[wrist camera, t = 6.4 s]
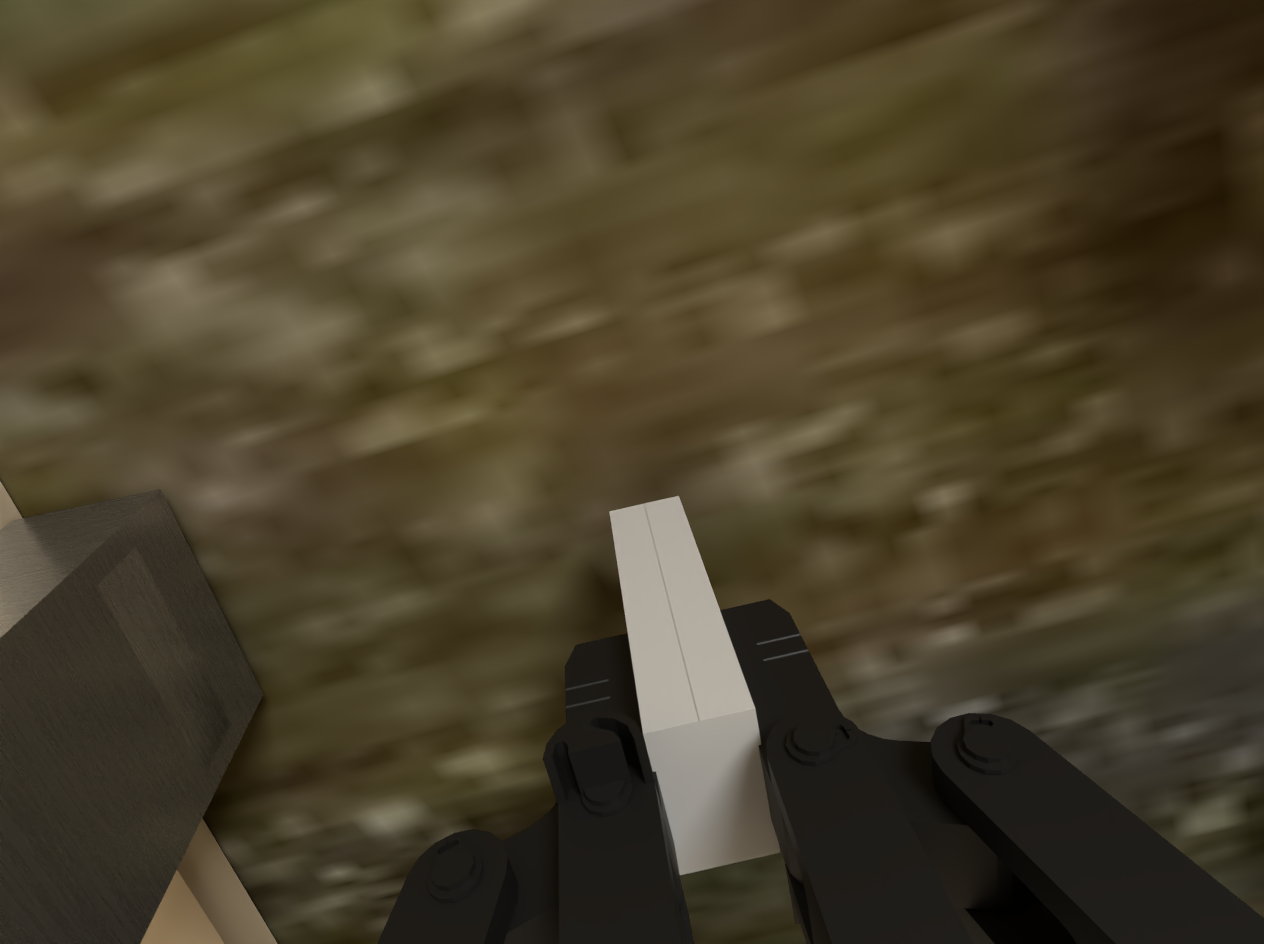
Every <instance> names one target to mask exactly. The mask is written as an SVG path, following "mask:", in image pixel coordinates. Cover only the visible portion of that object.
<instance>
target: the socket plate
mask: <svg viewBox="0 0 1264 944" xmlns="http://www.w3.org/2000/svg"><path fill="white" fill-rule="evenodd" d="M17 519H22V516H21V515H20V513H19V511H18V510H17V508H16V506H15V505H14V503H13V501H12V500H11V498H10V496H9V495H8V493H7V491H6V490H5V488H4V486H3V485H2V483H1V481H0V530H1V529H2V528H4V527H5V526H6V525H8V524H9V523H11V522H12V521H13V520H17ZM140 944H278V943H277V942H276V940H275V938H274V937H273V935H272V933H271V932H270V930H269V928H268V927H267V925H266V923H265V922H264V920H263V918H262V917H261V915H260V913H259V912H258V910H257V908H256V907H255V905H254V903H253V902H252V900H251V898H250V897H249V895H248V893H247V892H246V890H245V888H244V887H243V885H242V883H241V882H240V880H239V878H238V877H237V875H236V873H235V872H234V870H233V868H232V867H231V865H230V863H229V862H228V860H227V858H226V857H225V855H224V853H223V852H222V850H221V848H220V847H219V845H218V843H217V842H216V840H215V838H214V837H213V835H212V833H211V832H210V830H209V828H208V827H207V825H206V823H205V822H204V820H203V818H202V820H201V822H200V824H199V826H198V828H197V830H196V832H195V834H194V836H193V838H192V840H191V842H190V844H189V846H188V848H187V850H186V852H185V854H184V856H183V858H182V860H181V862H180V864H179V866H178V868H177V870H176V872H175V874H174V876H173V879H172V881H171V883H170V885H169V887H168V889H167V891H166V893H165V895H164V897H163V899H162V901H161V903H160V905H159V907H158V909H157V911H156V913H155V915H154V917H153V919H152V921H151V923H150V925H149V927H148V929H147V931H146V933H145V935H144V937H143V939H142V941H141V943H140Z"/></svg>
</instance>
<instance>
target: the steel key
mask: <svg viewBox="0 0 1264 944" xmlns="http://www.w3.org/2000/svg"><path fill="white" fill-rule="evenodd" d="M262 696H263V693H262V691H261V689H260V687H259V685H258V683H257V681H256V679H255V677H254V675H253V673H252V671H251V669H250V667H249V665H248V663H247V661H246V659H245V657H244V655H243V653H242V651H241V649H240V647H239V645H238V643H237V641H236V639H235V637H234V635H233V633H232V631H231V629H230V627H229V625H228V623H227V621H226V619H225V617H224V615H223V613H222V611H221V609H220V607H219V605H218V603H217V601H216V599H215V597H214V595H213V593H212V591H211V589H210V587H209V585H208V583H207V581H206V579H205V577H204V575H203V573H202V571H201V569H200V567H199V565H198V563H197V561H196V559H195V557H194V555H193V553H192V551H191V549H190V547H189V545H188V543H187V541H186V539H185V537H184V535H183V533H182V531H181V529H180V527H179V525H178V523H177V521H176V519H175V517H174V515H173V513H172V511H171V509H170V507H169V505H168V503H167V501H166V499H165V497H164V495H163V493H162V491H161V490H156V491H151V492H146V493H142V494H137V495H132V496H127V497H122V498H118V499H113V500H108V501H103V502H98V503H94V504H89V505H84V506H79V507H74V508H70V509H65V510H60V511H55V512H50V513H46V514H41V515H36V516H31V517H26V518H22V519H17V520H13V521H12V522H11V523H9V524H8V525H6V526H5V527H4V528H2V529H1V530H0V944H140V943H141V941H142V939H143V937H144V935H145V933H146V931H147V929H148V927H149V925H150V923H151V921H152V919H153V917H154V915H155V913H156V911H157V909H158V907H159V905H160V903H161V901H162V899H163V897H164V895H165V893H166V891H167V889H168V887H169V885H170V883H171V881H172V879H173V876H174V874H175V872H176V870H177V868H178V866H179V864H180V862H181V860H182V858H183V856H184V854H185V852H186V850H187V848H188V846H189V844H190V842H191V840H192V838H193V836H194V834H195V832H196V830H197V828H198V826H199V824H200V822H201V820H202V818H203V816H204V814H205V812H206V810H207V808H208V806H209V804H210V802H211V800H212V798H213V796H214V794H215V792H216V789H217V787H218V785H219V783H220V781H221V779H222V777H223V775H224V773H225V771H226V769H227V767H228V765H229V763H230V761H231V759H232V757H233V755H234V753H235V751H236V749H237V747H238V745H239V743H240V741H241V739H242V737H243V735H244V733H245V731H246V729H247V727H248V725H249V723H250V721H251V719H252V717H253V715H254V713H255V711H256V709H257V707H258V705H259V702H260V700H261V698H262Z"/></svg>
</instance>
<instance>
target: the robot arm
mask: <svg viewBox="0 0 1264 944" xmlns="http://www.w3.org/2000/svg"><path fill="white" fill-rule="evenodd" d="M609 512H610V518H611V525H612V532H613V538H614V545H615V552H616V558H617V565H618V571H619V578H620V585H621V591H622V598H623V605H624V611H625V618H626V625H627V631H628V633H627V634H623V635H618V636H614V637H609V638H605V639H600V640H596V641H592V642H587V643H583V644H578V645H576V646H575V648H574V650H573V652H572V654H571V656H570V658H569V660H568V661H567V663H566V665H565V688H566V724H565V725H563V726H562V727H561V728H559V729H558V730H557V731H556V732H555V734H554V735H553V736H552V738H551V739H550V740H549V742H548V743H547V745H546V749H545V753H544V757H543V760H544V763H545V766H546V769H547V772H548V775H549V778H550V781H551V784H552V787H553V790H554V793H555V796H556V799H557V803H556V804H555V805H554V807H553V808H552V809H551V810H550V811H549V812H548V813H547V814H546V815H545V816H544V817H543V818H542V819H541V820H539V821H538V822H536V823H535V824H533V825H532V826H530V827H528V828H527V829H525V830H523V831H521V832H519V833H517V834H515V835H514V836H512V837H510V838H508V839H506V840H504V841H501V840H499V839H498V838H497V837H496V836H494V835H493V834H492V833H490V832H486V831H480V830H475V829H472V830H467V831H462V832H457V833H453V834H452V835H450V836H448V837H446V838H444V839H442V840H440V841H438V842H436V843H435V844H434V845H433V846H431V847H430V848H429V849H428V850H427V851H426V852H425V853H424V854H423V855H421V856H420V857H419V859H418V860H417V862H416V863H415V865H414V867H413V868H412V870H411V871H410V873H409V874H408V876H407V878H406V881H405V883H404V885H403V887H402V890H401V892H400V894H399V896H398V899H397V901H396V903H395V905H394V908H393V910H392V912H391V914H390V917H389V919H388V921H387V923H386V926H385V928H384V930H383V932H382V935H381V937H380V939H379V941H378V944H694V942H693V937H692V931H691V925H690V920H689V914H688V910H687V906H686V902H685V898H684V894H683V890H682V885H681V880H680V875H684V874H688V873H692V872H697V871H701V870H705V869H710V868H714V867H719V866H723V865H727V864H732V863H736V862H740V861H745V860H749V859H754V858H758V857H762V856H767V855H771V854H775V853H780V849H779V845H780V848H781V852H782V855H783V858H784V861H785V865H786V871H787V877H788V883H789V889H790V895H791V901H792V907H793V913H794V919H795V924H801V927H802V930H803V933H804V936H805V939H806V943H807V944H973V943H974V944H1264V918H1263V917H1261V916H1260V915H1259V914H1258V913H1256V912H1255V911H1254V910H1253V909H1251V908H1250V907H1249V906H1248V905H1246V904H1245V903H1244V902H1243V901H1242V900H1240V899H1239V898H1238V897H1237V896H1235V895H1234V894H1233V893H1232V892H1230V891H1229V890H1228V889H1227V888H1225V887H1224V886H1223V885H1222V884H1220V883H1219V882H1218V881H1217V880H1215V879H1214V878H1213V877H1212V876H1210V875H1209V874H1208V873H1207V872H1205V871H1204V870H1203V869H1202V868H1200V867H1199V866H1198V865H1197V864H1195V863H1194V862H1193V861H1192V860H1190V859H1189V858H1188V857H1187V856H1185V855H1184V854H1183V853H1182V852H1180V851H1179V850H1178V849H1177V848H1175V847H1174V846H1173V845H1172V844H1170V843H1169V842H1168V841H1167V840H1165V839H1164V838H1163V837H1162V836H1160V835H1159V834H1158V833H1157V832H1155V831H1154V830H1153V829H1152V828H1150V827H1149V826H1148V825H1147V824H1145V823H1144V822H1143V821H1142V820H1141V819H1139V818H1138V817H1137V816H1136V815H1134V814H1133V813H1132V812H1131V811H1129V810H1128V809H1127V808H1126V807H1124V806H1123V805H1122V804H1121V803H1119V802H1118V801H1117V800H1116V799H1114V798H1113V797H1112V796H1111V795H1109V794H1108V793H1107V792H1106V791H1104V790H1103V789H1102V788H1101V787H1099V786H1098V785H1097V784H1096V783H1094V782H1093V781H1092V780H1091V779H1089V778H1088V777H1087V776H1086V775H1084V774H1083V773H1082V772H1081V771H1079V770H1078V769H1077V768H1076V767H1074V766H1073V765H1072V764H1071V763H1069V762H1068V761H1067V760H1066V759H1064V758H1063V757H1062V756H1061V755H1059V754H1058V753H1057V752H1056V751H1054V750H1053V749H1052V748H1051V747H1049V746H1048V745H1047V744H1046V743H1044V742H1043V741H1042V740H1041V739H1039V738H1038V737H1037V736H1036V735H1035V734H1033V733H1032V732H1031V731H1029V730H1028V729H1026V728H1024V727H1023V726H1021V725H1019V724H1017V723H1016V722H1014V721H1012V720H1010V719H1006V718H1003V717H999V716H996V715H992V714H976V713H968V714H964V715H960V716H956V717H953V718H950V719H948V720H947V721H946V722H944V723H943V724H941V725H940V726H939V727H937V729H936V731H935V733H934V735H933V737H932V739H931V742H914V741H896V740H888V739H882V738H879V737H875V736H872V735H869V734H867V733H865V732H863V731H861V730H859V729H858V727H857V726H856V725H855V724H854V723H853V722H852V721H850V720H848V719H846V718H845V717H844V716H843V715H842V714H841V712H840V711H839V709H838V707H837V705H836V703H835V701H834V699H833V698H832V696H831V694H830V692H829V690H828V688H827V686H826V684H825V682H824V680H823V678H822V676H821V674H820V672H819V670H818V668H817V666H816V664H815V662H814V660H813V658H812V656H811V654H810V652H808V649H807V646H806V645H805V643H804V641H803V639H802V637H801V636H800V634H799V631H798V629H797V627H796V625H795V623H794V621H793V619H792V617H791V615H790V613H789V612H787V611H786V610H784V609H783V608H781V607H780V606H779V605H777V604H776V603H774V602H773V601H772V600H770V599H768V600H764V601H760V602H755V603H751V604H746V605H742V606H737V607H733V608H729V609H724V610H720V609H719V606H718V604H717V601H716V598H715V595H714V592H713V590H712V587H711V584H710V581H709V579H708V576H707V573H706V570H705V567H704V565H703V562H702V559H701V556H700V554H699V551H698V548H697V545H696V542H695V540H694V537H693V534H692V531H691V529H690V526H689V523H688V520H687V517H686V515H685V512H684V509H683V506H682V504H681V501H680V498H679V496H676V497H671V498H667V499H662V500H658V501H654V502H649V503H645V504H640V505H636V506H631V507H627V508H622V509H618V510H614V511H609ZM778 842H779V844H778Z"/></svg>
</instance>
